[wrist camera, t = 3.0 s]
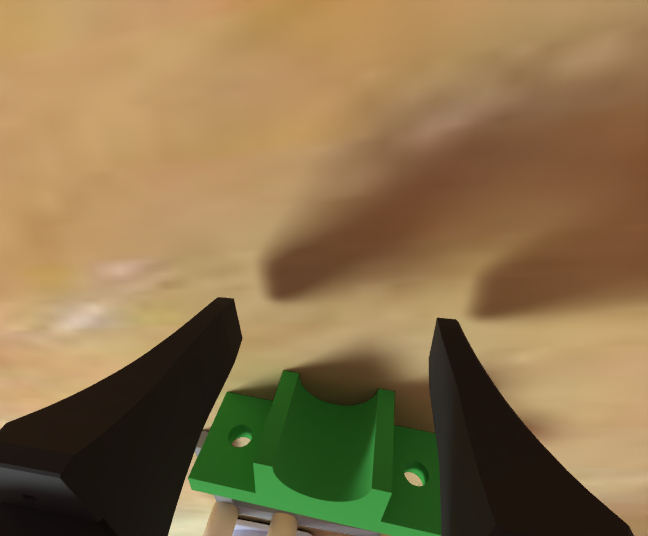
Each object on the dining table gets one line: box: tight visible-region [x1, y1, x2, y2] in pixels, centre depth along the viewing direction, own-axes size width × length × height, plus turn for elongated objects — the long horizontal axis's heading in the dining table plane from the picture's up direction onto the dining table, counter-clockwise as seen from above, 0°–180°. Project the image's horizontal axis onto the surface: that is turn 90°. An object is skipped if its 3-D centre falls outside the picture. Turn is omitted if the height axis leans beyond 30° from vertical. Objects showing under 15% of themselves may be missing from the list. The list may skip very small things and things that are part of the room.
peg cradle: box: [195, 431, 391, 536], centre depth 22 cm, size 8×17×4 cm, turn 92°
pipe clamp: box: [188, 370, 441, 536], centre depth 17 cm, size 11×4×5 cm, turn 86°
